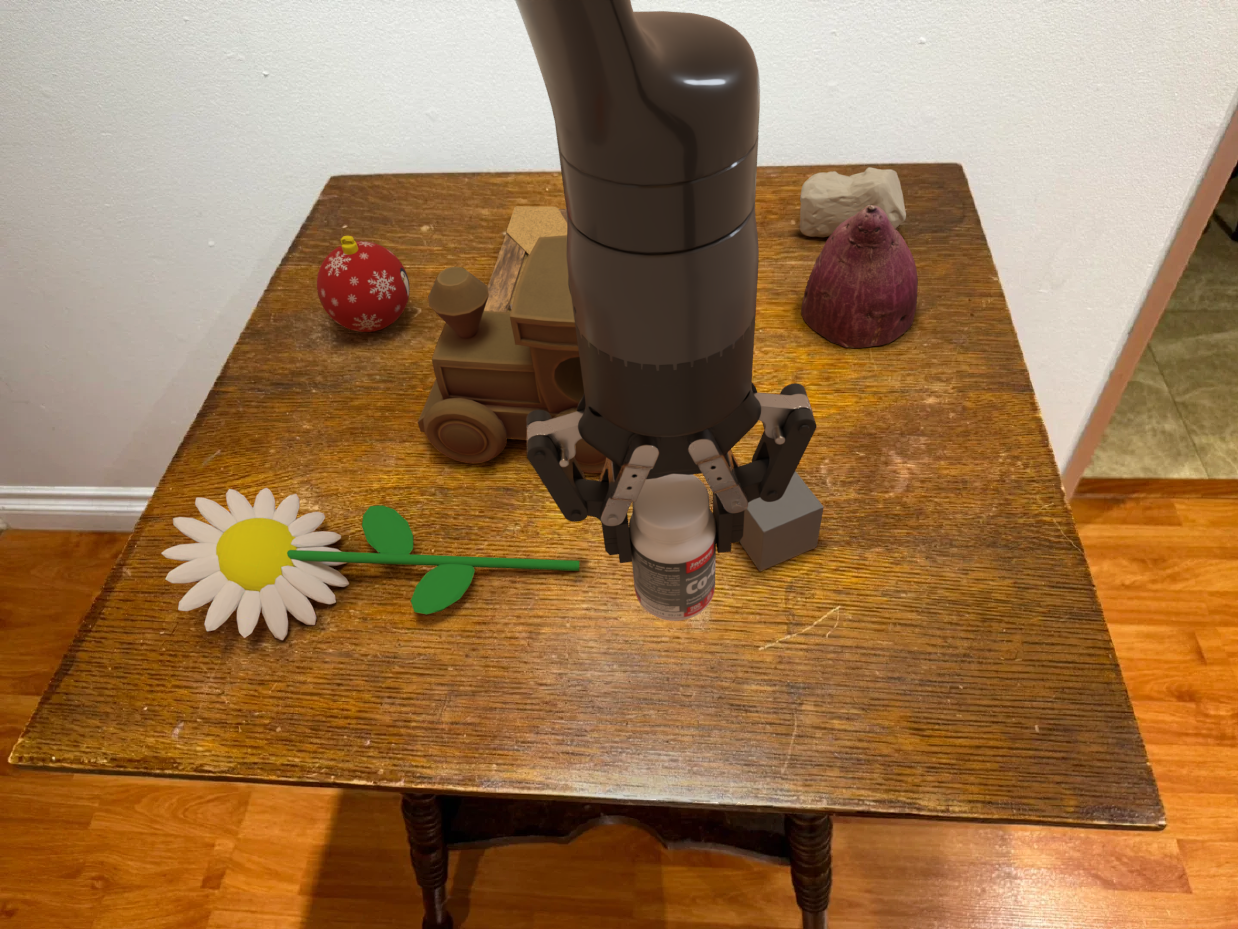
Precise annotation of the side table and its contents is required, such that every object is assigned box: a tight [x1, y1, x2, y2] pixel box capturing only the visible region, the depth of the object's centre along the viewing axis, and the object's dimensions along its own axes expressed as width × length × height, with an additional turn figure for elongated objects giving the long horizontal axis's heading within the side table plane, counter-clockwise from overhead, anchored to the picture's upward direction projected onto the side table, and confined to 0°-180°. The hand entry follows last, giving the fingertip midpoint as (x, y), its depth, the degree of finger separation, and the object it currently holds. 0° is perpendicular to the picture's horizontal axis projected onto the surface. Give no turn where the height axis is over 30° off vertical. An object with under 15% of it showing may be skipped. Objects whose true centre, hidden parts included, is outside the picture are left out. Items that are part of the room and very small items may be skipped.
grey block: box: [739, 470, 825, 572], centre depth 67 cm, size 5×5×5 cm
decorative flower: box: [160, 487, 580, 641], centre depth 67 cm, size 13×5×30 cm
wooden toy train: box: [417, 235, 606, 474], centre depth 71 cm, size 20×11×17 cm, turn 81°
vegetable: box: [800, 205, 919, 349], centre depth 80 cm, size 10×10×15 cm
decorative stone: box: [799, 166, 907, 238], centre depth 92 cm, size 11×9×10 cm
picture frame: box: [484, 205, 567, 312], centre depth 90 cm, size 19×2×24 cm
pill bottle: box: [628, 474, 717, 622], centre depth 49 cm, size 5×5×8 cm
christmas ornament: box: [316, 235, 410, 333], centre depth 85 cm, size 9×9×10 cm
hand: (673, 543), depth 49 cm, fingers closed on pill bottle, 4 cm apart
